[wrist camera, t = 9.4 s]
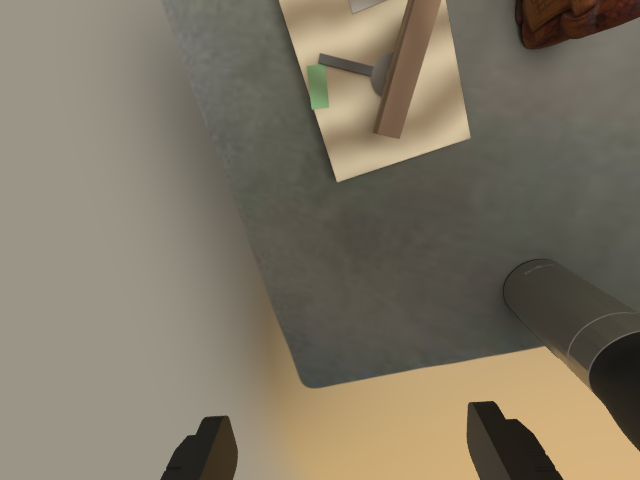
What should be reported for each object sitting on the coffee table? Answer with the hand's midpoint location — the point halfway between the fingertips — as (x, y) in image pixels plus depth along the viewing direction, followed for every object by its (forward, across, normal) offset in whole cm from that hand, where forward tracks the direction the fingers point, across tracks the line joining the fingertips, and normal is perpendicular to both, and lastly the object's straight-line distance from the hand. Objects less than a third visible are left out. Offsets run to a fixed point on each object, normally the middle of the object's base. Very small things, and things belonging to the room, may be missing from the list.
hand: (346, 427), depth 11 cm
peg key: (+31, -5, -15) cm, 34 cm away
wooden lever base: (+36, -6, -16) cm, 40 cm away
